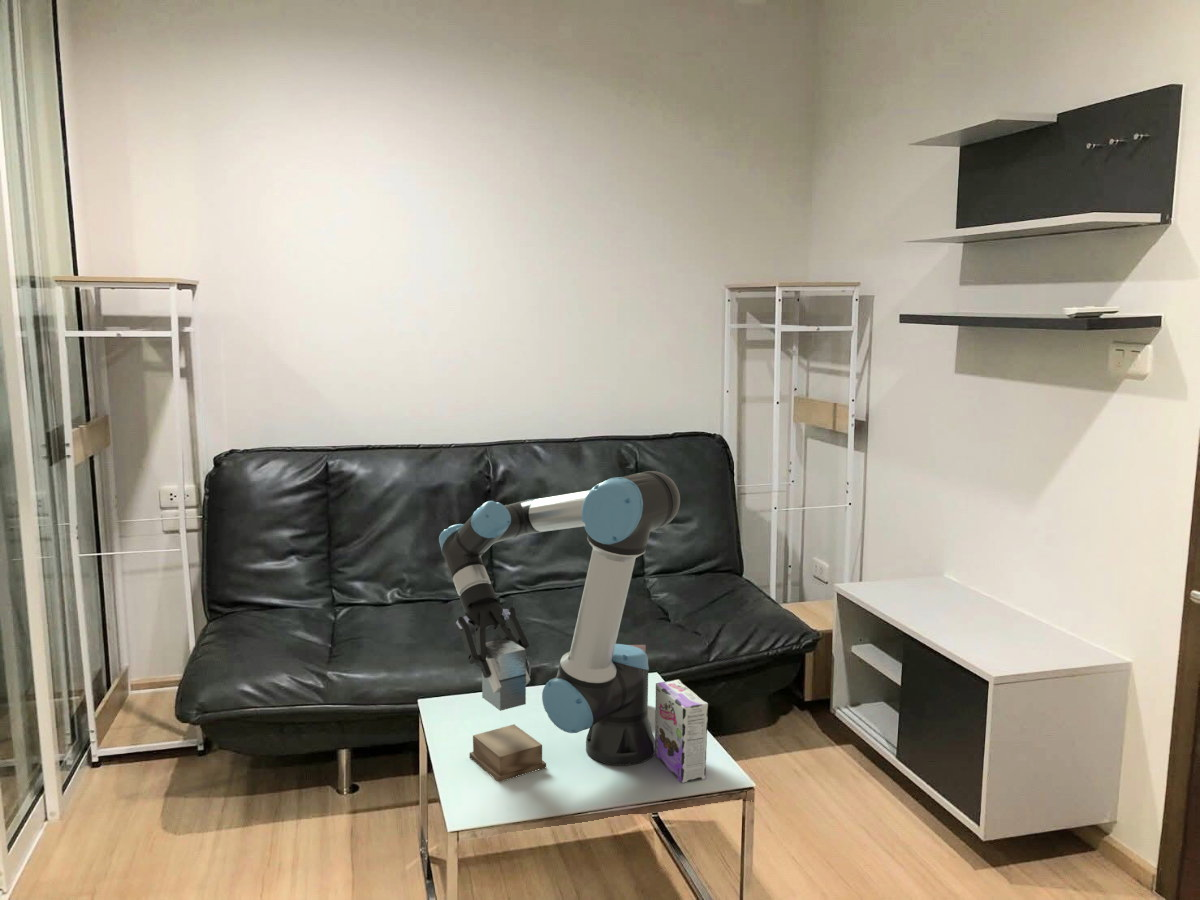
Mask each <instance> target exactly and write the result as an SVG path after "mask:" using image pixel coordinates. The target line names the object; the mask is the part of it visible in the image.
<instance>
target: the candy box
mask: <svg viewBox="0 0 1200 900" xmlns="http://www.w3.org/2000/svg"><path fill="white" fill-rule="evenodd" d="M708 709H709V703H708V702H707V701H705V700H703V698H701V697H700V696H698V695H697V693H695V692H694V691H693V690H692V689H690V688H689V687H688V686H687V685H686V684H684V683H683V682H682V681H681V679H673V680H667V681H661V682H656V683H655V719H654V720H655V729H654V731H655V732H654V738H655V753H654V755H655V756H656V757H657V758H658V759H659V760H660V762H662V764H664V766H665V767H666V768H667V769H668V770H669V771H670V772H671V773H672V774H673V775H674V776H675V777H676V779H678V781H679V782H681V783H682V784H683V783H690V782H696V781H702V780H706V776H707V775H706V774H707V773H706V772H707V743H708V742H707V739H708V712H709V711H708Z"/></svg>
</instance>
